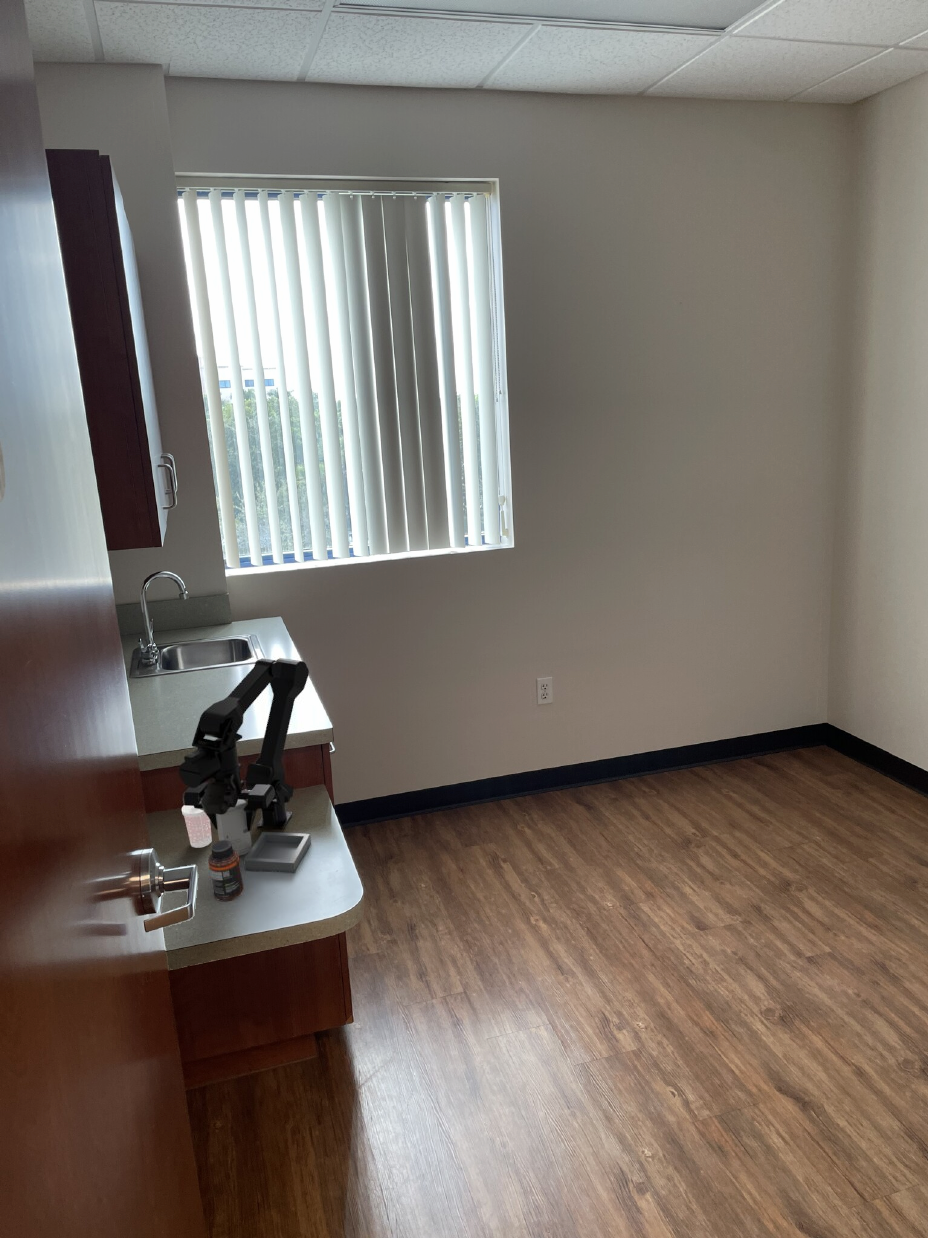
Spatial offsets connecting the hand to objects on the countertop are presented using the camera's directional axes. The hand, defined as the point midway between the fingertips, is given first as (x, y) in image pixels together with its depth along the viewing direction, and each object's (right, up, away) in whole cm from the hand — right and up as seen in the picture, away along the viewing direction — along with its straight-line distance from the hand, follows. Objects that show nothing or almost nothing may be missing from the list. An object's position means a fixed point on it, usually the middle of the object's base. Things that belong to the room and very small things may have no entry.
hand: (233, 829), depth 185 cm
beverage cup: (-9, -5, +6) cm, 12 cm away
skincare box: (0, -5, +2) cm, 6 cm away
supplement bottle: (+2, -10, -12) cm, 16 cm away
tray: (+10, -6, -1) cm, 12 cm away
